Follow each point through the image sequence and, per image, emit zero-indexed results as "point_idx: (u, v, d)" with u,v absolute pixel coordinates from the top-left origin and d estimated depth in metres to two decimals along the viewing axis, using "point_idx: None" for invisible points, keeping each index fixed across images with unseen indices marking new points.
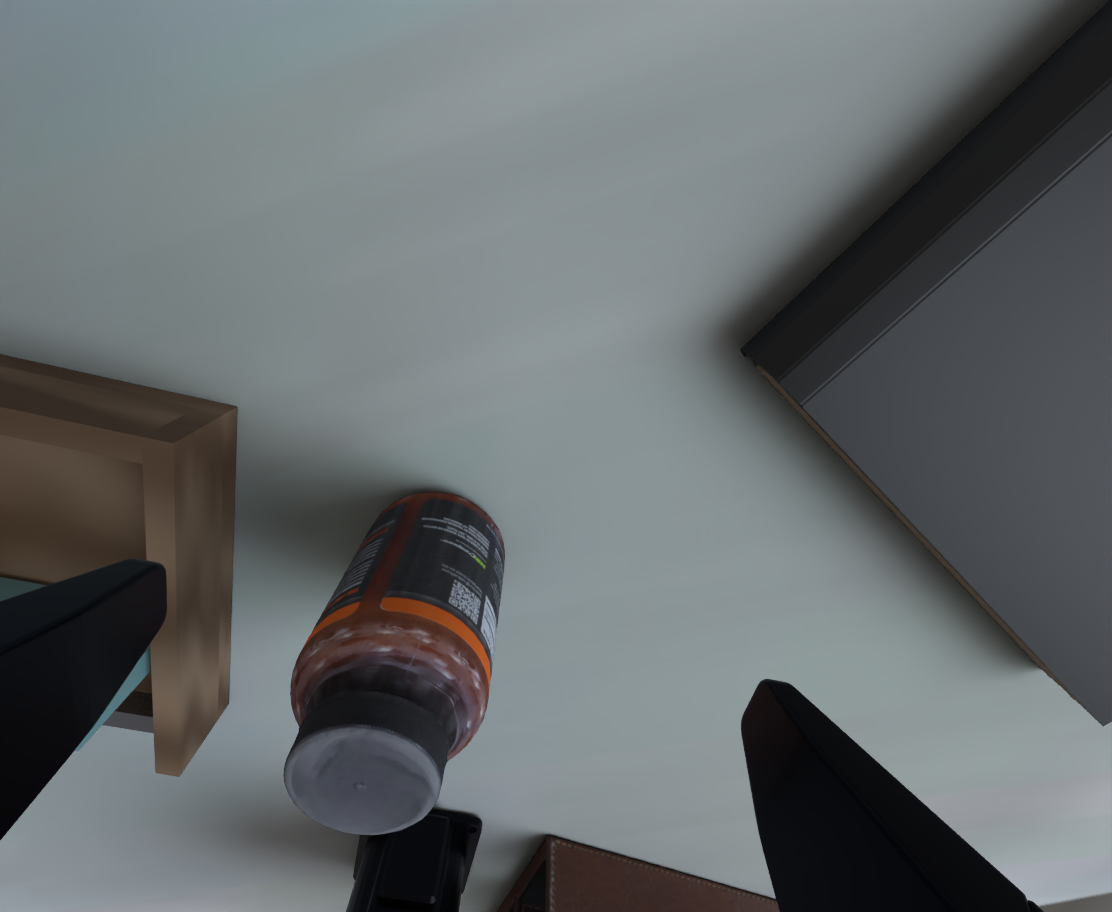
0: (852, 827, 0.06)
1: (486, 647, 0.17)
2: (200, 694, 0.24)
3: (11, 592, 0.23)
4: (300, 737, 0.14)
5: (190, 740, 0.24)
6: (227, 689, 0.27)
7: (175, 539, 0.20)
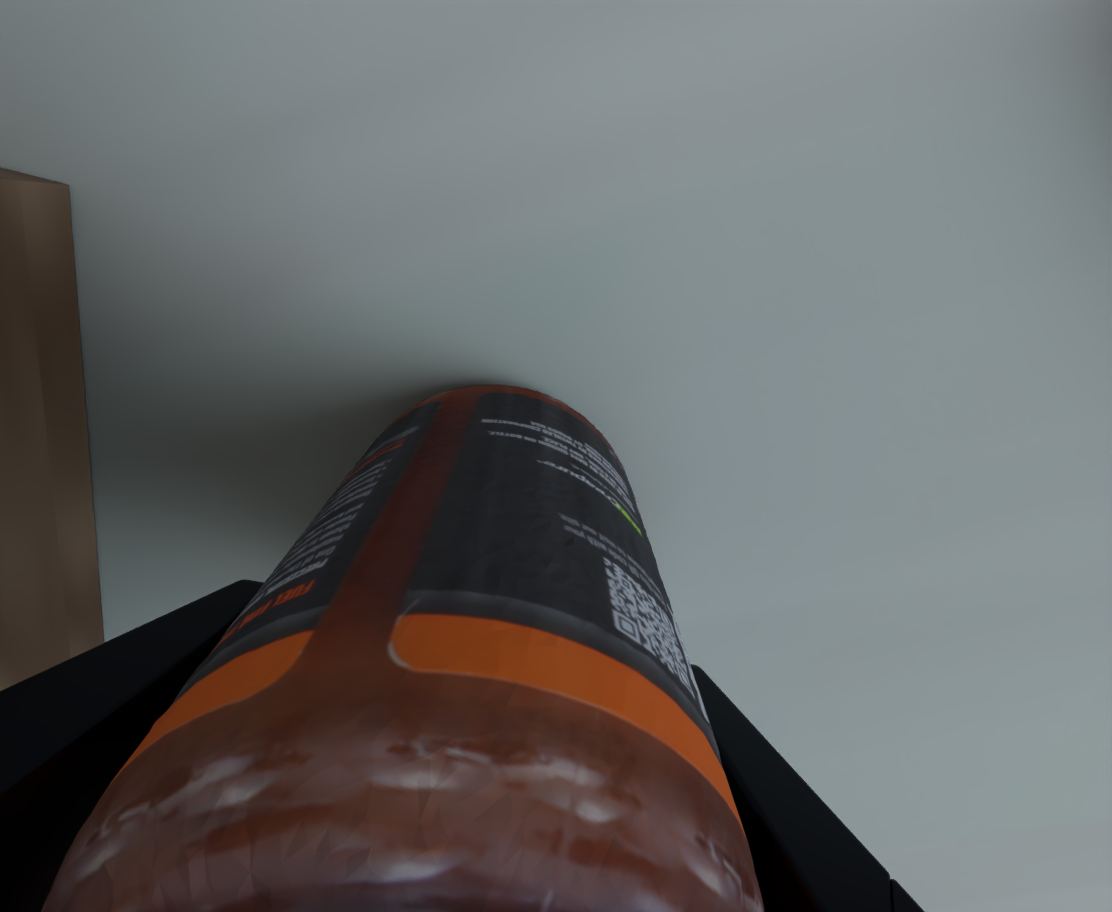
0: None
1: None
2: None
3: None
4: None
5: None
6: None
7: None
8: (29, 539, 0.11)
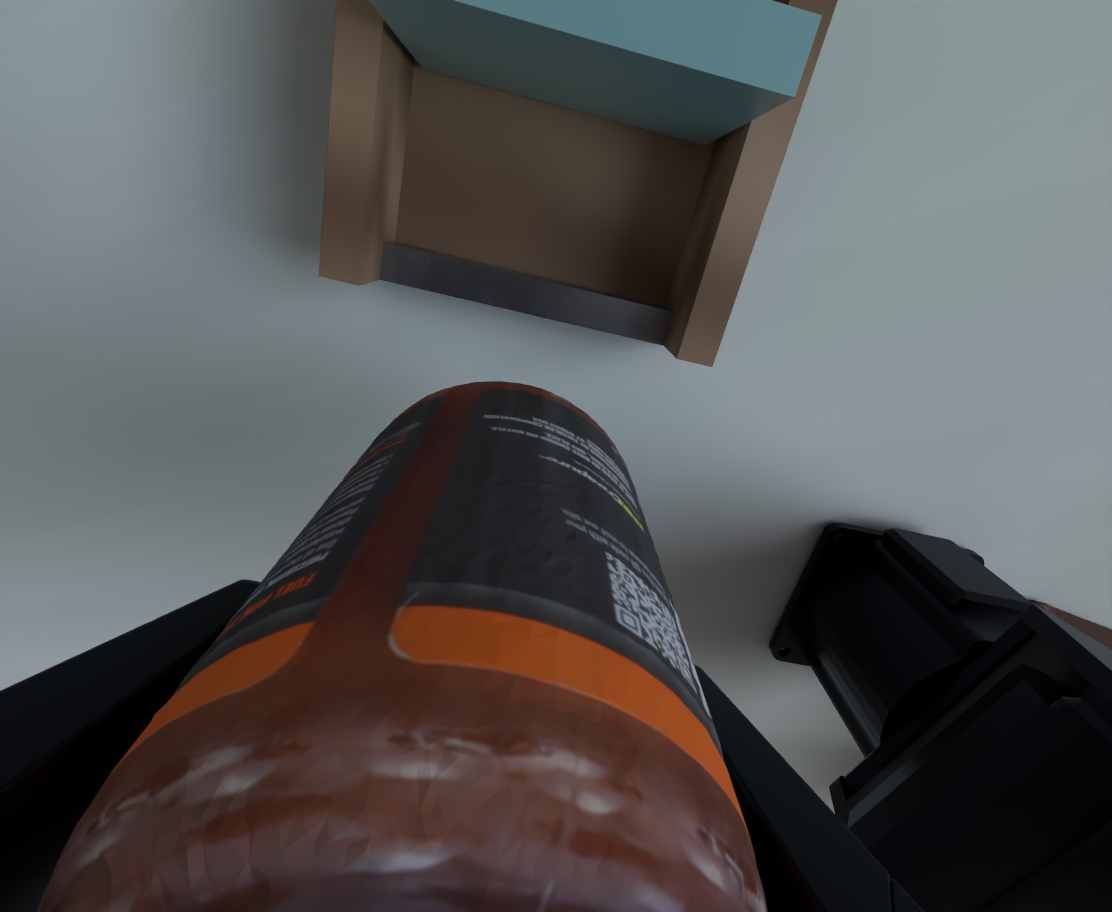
0: None
1: None
2: None
3: None
4: None
5: None
6: None
7: None
8: None
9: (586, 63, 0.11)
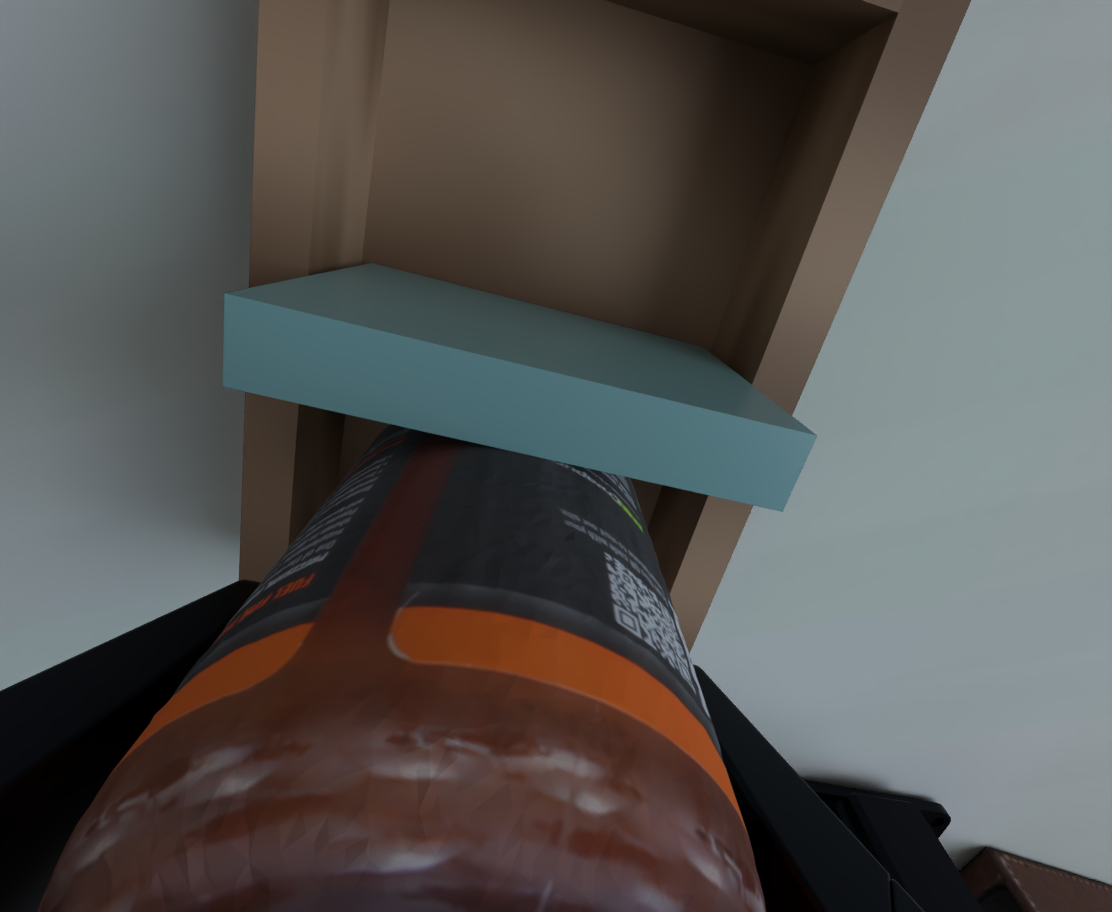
0: None
1: (724, 766, 0.05)
2: None
3: (427, 282, 0.12)
4: None
5: None
6: None
7: (873, 221, 0.10)
8: None
9: None
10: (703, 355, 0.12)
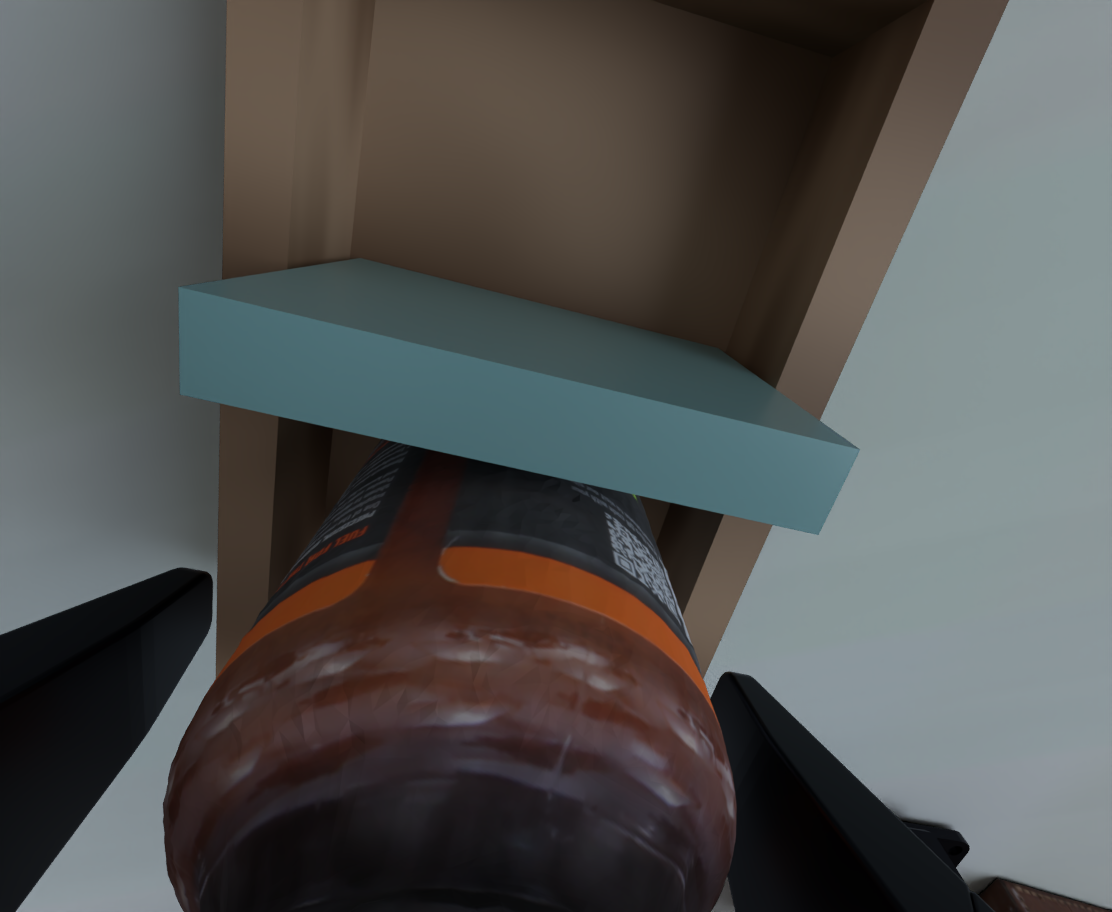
0: (801, 819, 0.06)
1: None
2: None
3: (420, 278, 0.11)
4: None
5: None
6: None
7: (904, 226, 0.09)
8: None
9: None
10: (719, 357, 0.11)
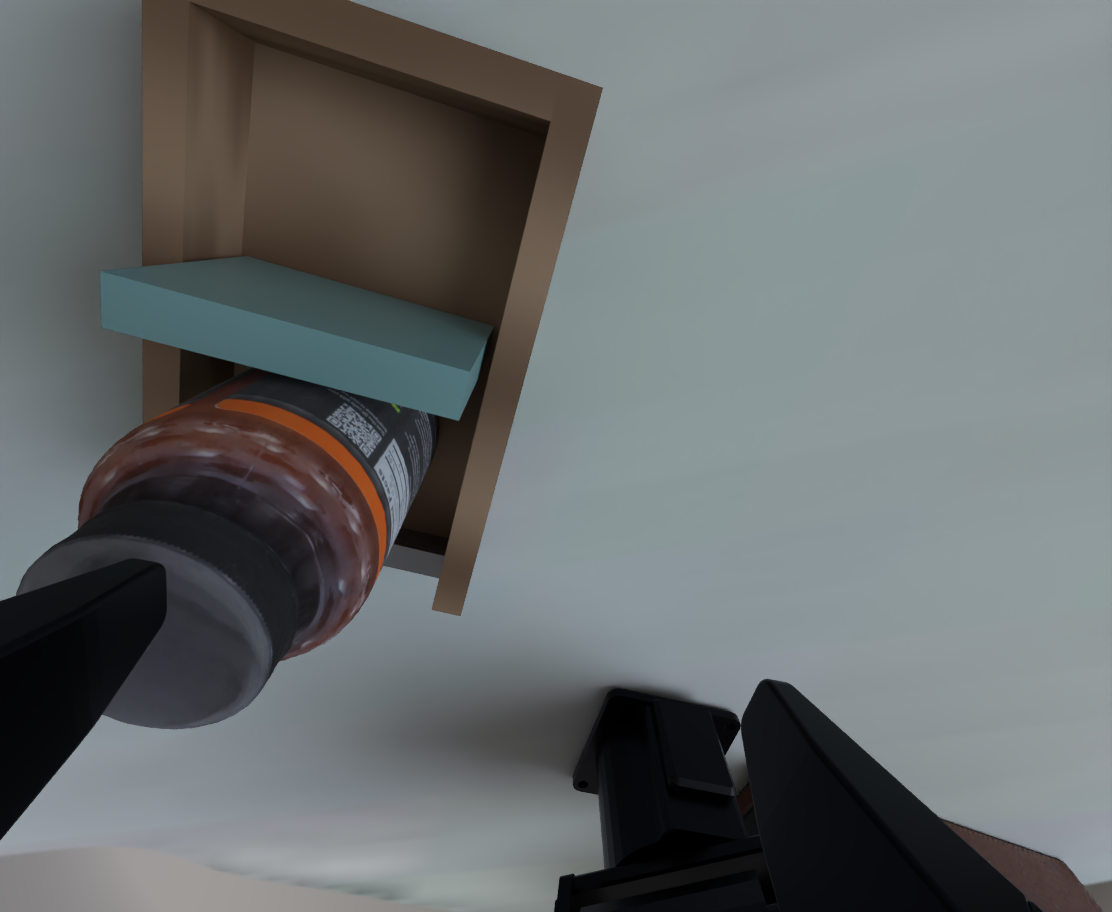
0: (852, 827, 0.06)
1: (379, 490, 0.12)
2: None
3: (282, 270, 0.16)
4: None
5: None
6: None
7: (558, 250, 0.14)
8: None
9: None
10: (479, 330, 0.17)
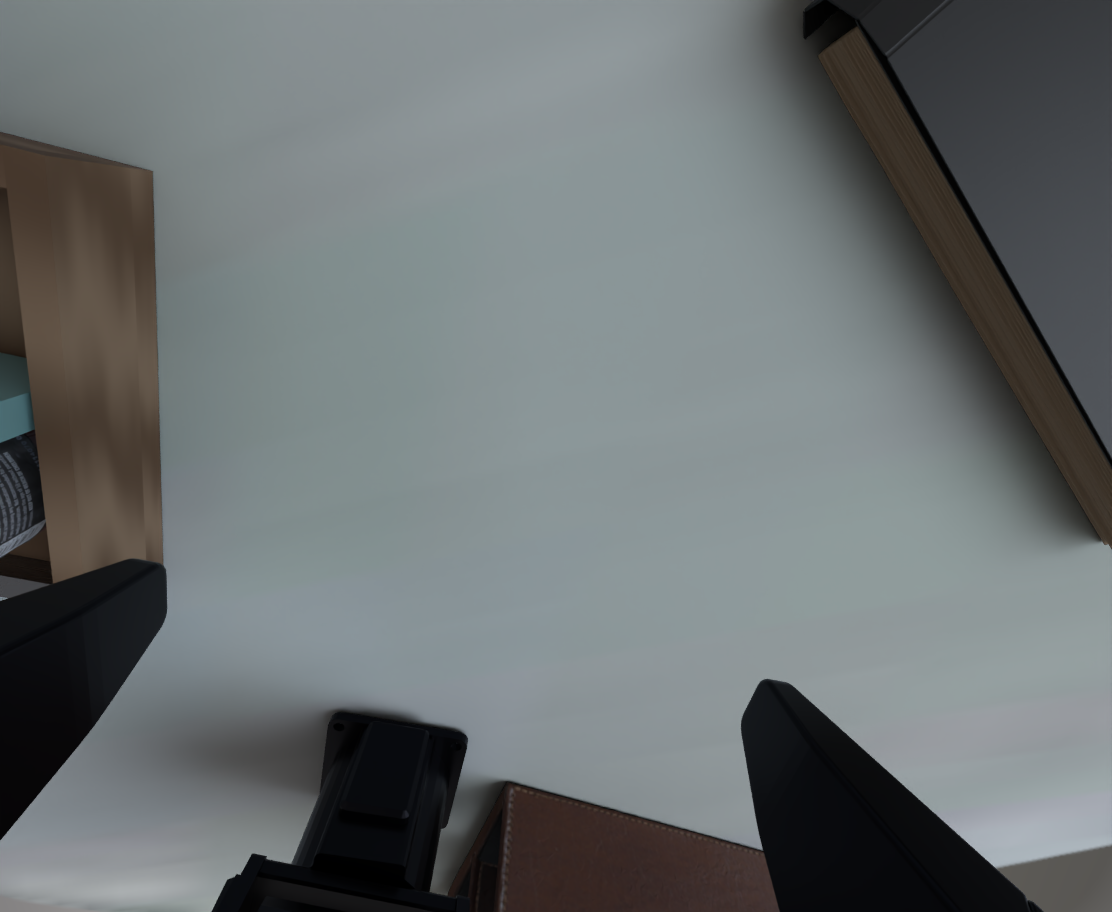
0: (852, 827, 0.06)
1: None
2: (117, 553, 0.20)
3: None
4: None
5: None
6: None
7: (59, 307, 0.15)
8: (125, 381, 0.18)
9: None
10: None
